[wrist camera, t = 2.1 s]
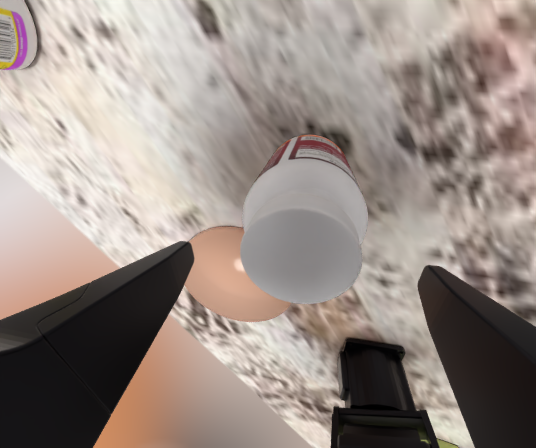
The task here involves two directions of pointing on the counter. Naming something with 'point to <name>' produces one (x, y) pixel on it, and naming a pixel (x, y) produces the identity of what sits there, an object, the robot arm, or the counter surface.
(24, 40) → the supplement bottle
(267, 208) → the pill bottle
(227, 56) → the counter surface
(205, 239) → the terracotta plate
